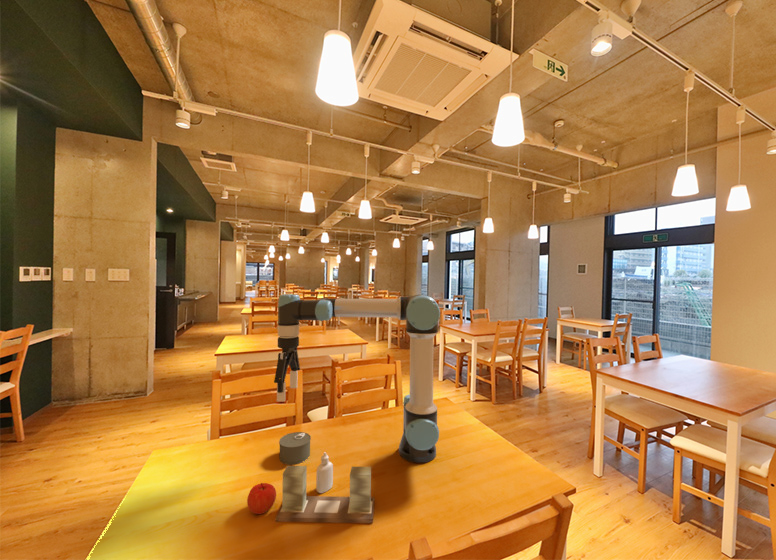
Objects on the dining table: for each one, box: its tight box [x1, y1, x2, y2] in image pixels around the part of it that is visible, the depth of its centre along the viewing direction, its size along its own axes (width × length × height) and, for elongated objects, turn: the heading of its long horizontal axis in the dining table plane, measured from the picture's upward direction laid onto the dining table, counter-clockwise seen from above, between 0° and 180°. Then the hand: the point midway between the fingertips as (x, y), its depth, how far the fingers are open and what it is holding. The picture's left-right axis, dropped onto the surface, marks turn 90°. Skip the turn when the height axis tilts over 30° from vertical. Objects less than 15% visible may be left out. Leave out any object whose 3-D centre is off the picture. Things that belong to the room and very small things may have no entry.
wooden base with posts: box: [275, 465, 375, 524], centre depth 93 cm, size 28×9×12 cm, turn 89°
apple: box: [246, 482, 277, 515], centre depth 93 cm, size 8×8×8 cm
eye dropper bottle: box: [315, 451, 334, 494], centre depth 103 cm, size 4×6×12 cm
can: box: [278, 431, 312, 466], centre depth 122 cm, size 12×12×7 cm
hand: (287, 394), depth 113 cm, fingers open, 13 cm apart
